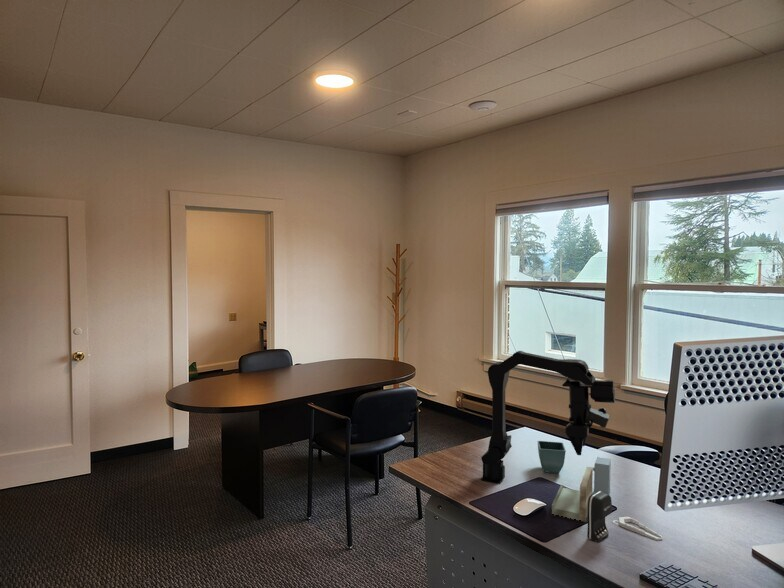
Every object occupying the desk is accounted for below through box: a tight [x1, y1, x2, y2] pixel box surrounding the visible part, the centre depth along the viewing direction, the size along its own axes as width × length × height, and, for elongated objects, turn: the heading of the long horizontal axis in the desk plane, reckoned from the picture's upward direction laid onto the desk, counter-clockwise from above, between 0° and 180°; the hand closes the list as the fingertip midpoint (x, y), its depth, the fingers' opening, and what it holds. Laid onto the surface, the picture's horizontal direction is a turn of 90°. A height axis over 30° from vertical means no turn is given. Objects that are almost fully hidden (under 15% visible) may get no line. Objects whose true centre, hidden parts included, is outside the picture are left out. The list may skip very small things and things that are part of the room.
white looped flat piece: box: [612, 516, 663, 541], centre depth 137 cm, size 13×5×2 cm, turn 39°
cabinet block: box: [593, 456, 612, 495], centre depth 159 cm, size 5×6×10 cm
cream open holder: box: [551, 466, 594, 523], centre depth 149 cm, size 9×16×10 cm, turn 152°
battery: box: [587, 491, 613, 542], centre depth 132 cm, size 7×4×11 cm, turn 131°
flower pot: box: [537, 440, 567, 474], centre depth 178 cm, size 9×9×9 cm
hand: (581, 450), depth 157 cm, fingers open, 9 cm apart
